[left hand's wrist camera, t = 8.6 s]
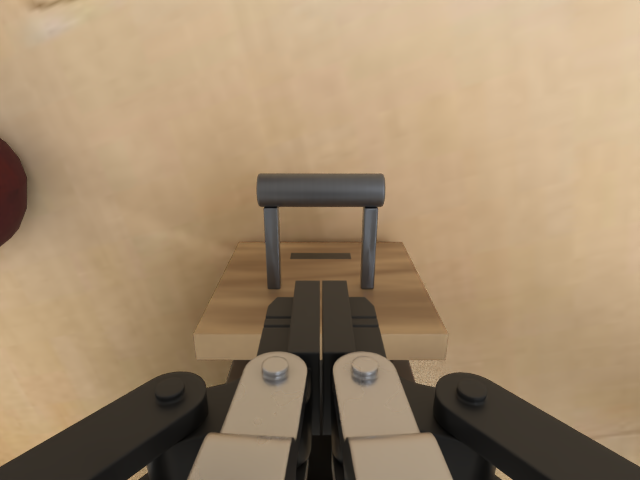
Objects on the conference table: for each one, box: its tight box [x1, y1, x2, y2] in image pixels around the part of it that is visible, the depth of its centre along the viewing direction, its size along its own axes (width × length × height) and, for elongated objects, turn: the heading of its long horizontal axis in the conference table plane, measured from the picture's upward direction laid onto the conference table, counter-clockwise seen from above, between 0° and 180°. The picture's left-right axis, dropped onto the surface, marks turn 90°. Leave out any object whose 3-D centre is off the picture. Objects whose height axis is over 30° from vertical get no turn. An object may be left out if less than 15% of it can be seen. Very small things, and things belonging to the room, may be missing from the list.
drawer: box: [193, 174, 448, 480], centre depth 23 cm, size 26×10×10 cm, turn 0°
